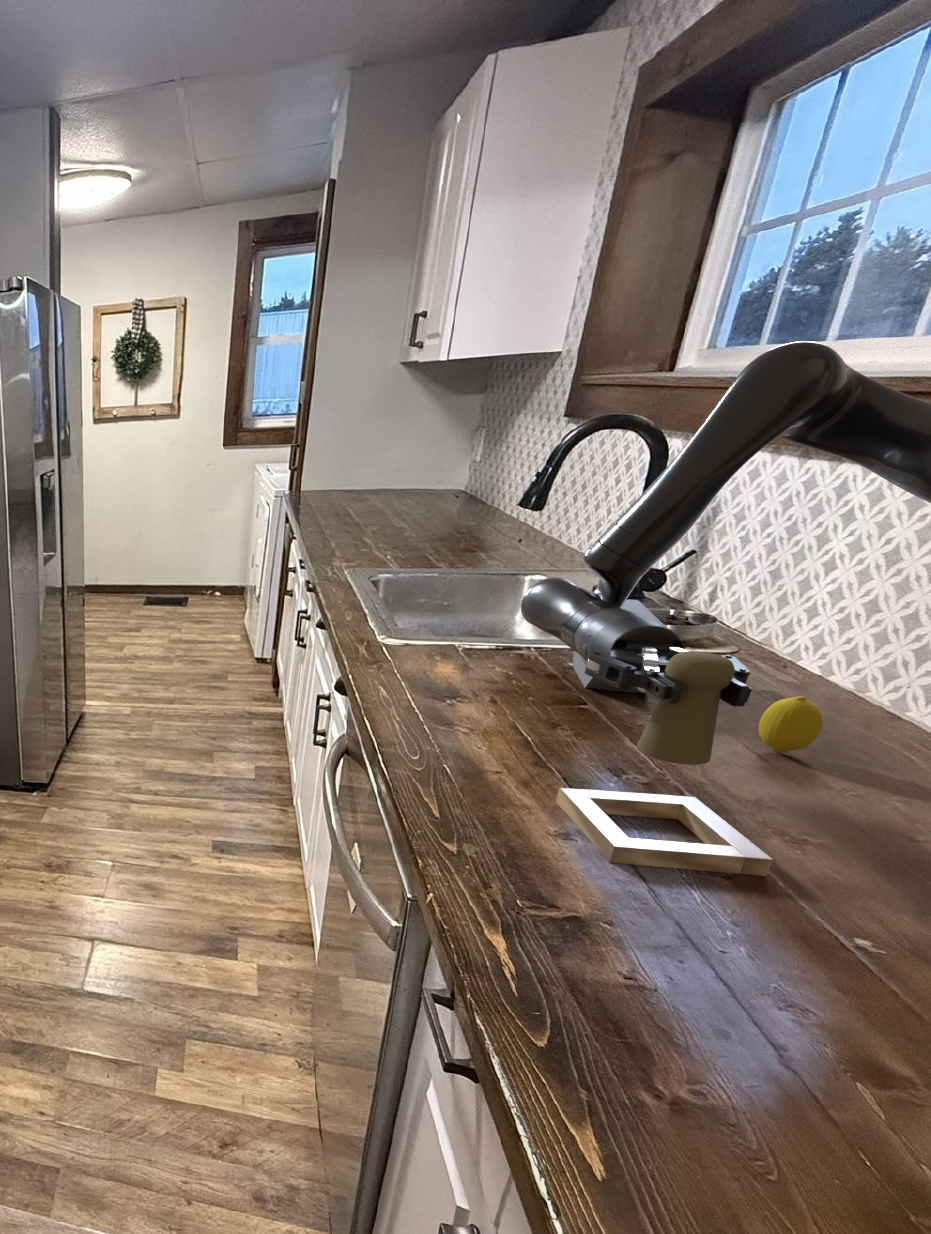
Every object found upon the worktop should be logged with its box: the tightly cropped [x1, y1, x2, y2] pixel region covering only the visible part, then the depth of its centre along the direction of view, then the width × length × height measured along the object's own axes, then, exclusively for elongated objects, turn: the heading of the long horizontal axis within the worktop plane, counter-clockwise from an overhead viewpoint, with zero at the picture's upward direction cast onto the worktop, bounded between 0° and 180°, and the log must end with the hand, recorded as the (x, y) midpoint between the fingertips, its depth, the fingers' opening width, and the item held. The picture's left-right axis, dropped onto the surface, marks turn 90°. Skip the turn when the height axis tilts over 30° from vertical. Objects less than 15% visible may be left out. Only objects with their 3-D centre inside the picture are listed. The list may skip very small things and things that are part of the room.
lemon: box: [758, 695, 824, 754], centre depth 100 cm, size 6×6×8 cm
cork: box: [635, 651, 735, 766], centre depth 81 cm, size 6×6×11 cm
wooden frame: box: [555, 787, 774, 877], centre depth 84 cm, size 13×13×2 cm
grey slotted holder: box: [572, 598, 668, 695], centre depth 126 cm, size 25×8×11 cm, turn 152°
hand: (709, 696), depth 77 cm, fingers closed on cork, 5 cm apart
